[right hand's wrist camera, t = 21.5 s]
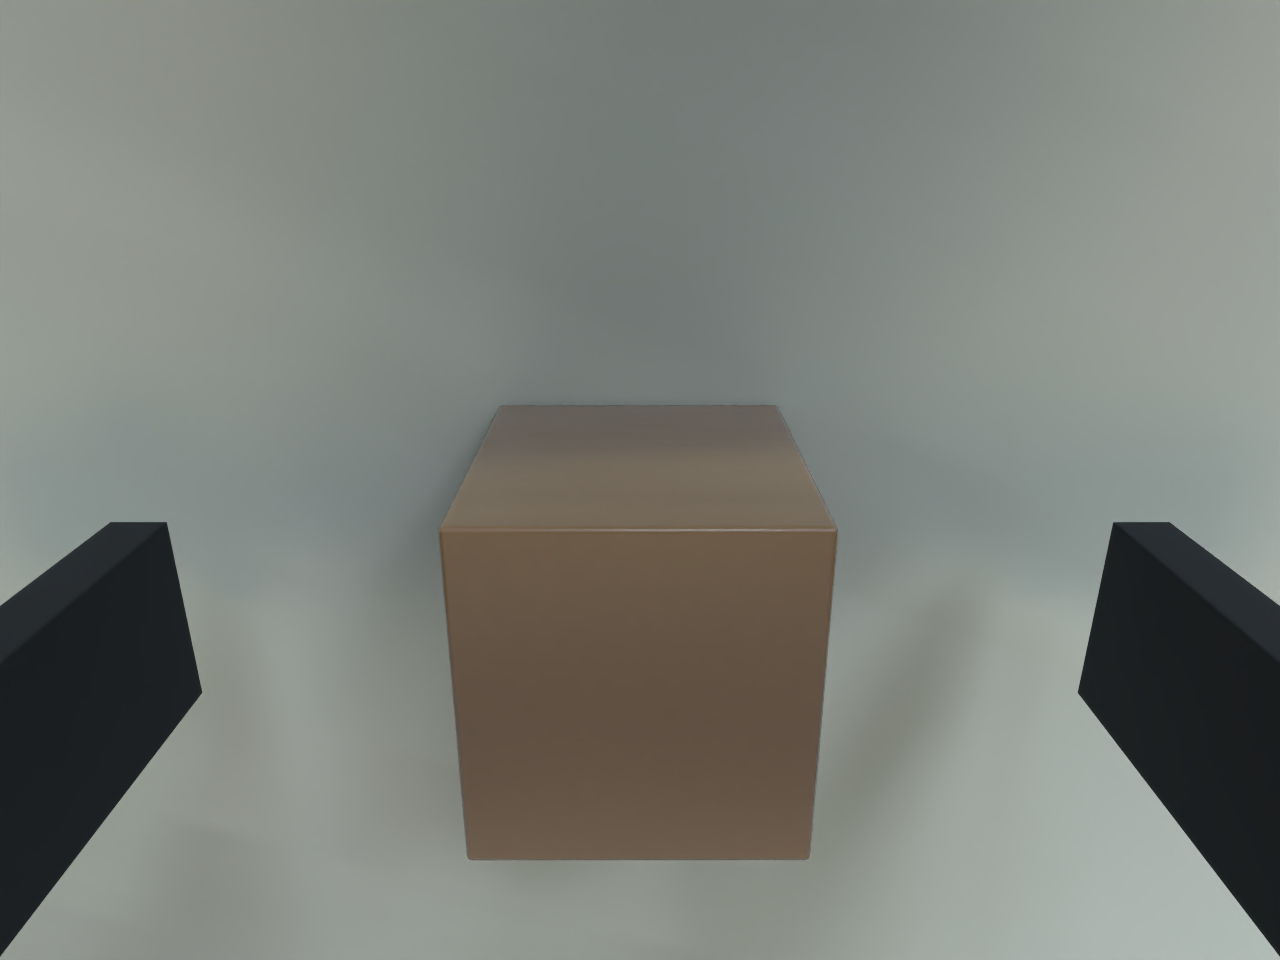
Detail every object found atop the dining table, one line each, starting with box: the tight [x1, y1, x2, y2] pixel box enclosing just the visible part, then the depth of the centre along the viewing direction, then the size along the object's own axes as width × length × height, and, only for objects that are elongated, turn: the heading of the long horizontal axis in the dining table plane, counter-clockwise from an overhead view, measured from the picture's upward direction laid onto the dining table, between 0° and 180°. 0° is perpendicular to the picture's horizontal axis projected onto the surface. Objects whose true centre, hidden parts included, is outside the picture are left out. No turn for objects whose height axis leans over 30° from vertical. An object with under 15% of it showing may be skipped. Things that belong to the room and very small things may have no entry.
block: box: [438, 406, 838, 860], centre depth 13 cm, size 5×4×5 cm
